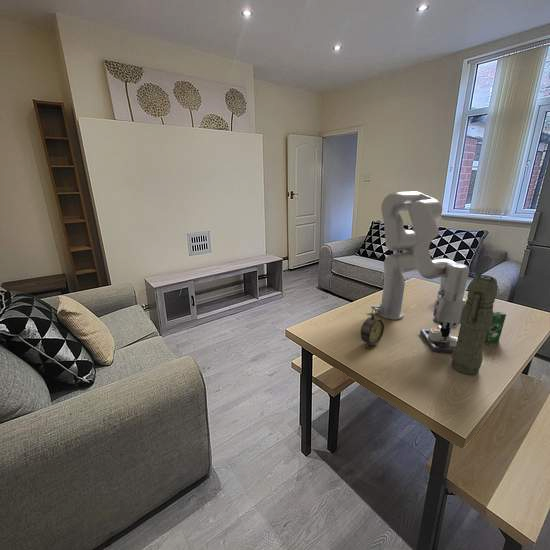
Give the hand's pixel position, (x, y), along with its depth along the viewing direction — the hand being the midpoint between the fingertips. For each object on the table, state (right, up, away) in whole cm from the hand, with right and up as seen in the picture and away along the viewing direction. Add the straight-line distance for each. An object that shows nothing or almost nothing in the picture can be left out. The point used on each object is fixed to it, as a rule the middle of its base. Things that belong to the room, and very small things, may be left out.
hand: (444, 335), depth 120 cm
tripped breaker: (-4, -2, +1) cm, 4 cm away
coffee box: (+20, -3, +2) cm, 21 cm away
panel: (-1, -4, +1) cm, 4 cm away
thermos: (-1, -9, -14) cm, 17 cm away
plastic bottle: (+24, +10, +42) cm, 49 cm away
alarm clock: (-30, -4, +1) cm, 31 cm away
